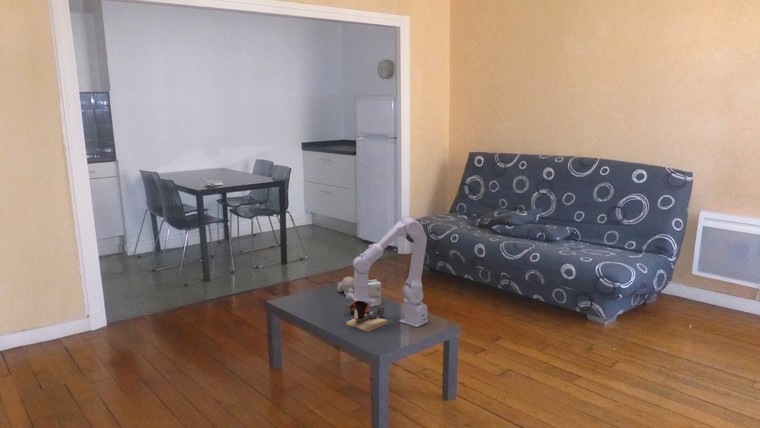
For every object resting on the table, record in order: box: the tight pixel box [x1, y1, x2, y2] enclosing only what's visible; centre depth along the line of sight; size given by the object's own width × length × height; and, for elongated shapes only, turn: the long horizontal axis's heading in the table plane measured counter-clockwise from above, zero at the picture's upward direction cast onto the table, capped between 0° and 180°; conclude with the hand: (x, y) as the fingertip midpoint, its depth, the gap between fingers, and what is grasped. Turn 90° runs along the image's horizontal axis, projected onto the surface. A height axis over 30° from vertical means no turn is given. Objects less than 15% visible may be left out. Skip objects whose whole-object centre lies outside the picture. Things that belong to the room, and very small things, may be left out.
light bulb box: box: [368, 279, 382, 308], centre depth 258 cm, size 11×7×11 cm, turn 111°
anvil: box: [343, 301, 355, 317], centre depth 248 cm, size 3×7×4 cm, turn 163°
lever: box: [354, 305, 385, 323], centre depth 238 cm, size 16×4×5 cm, turn 135°
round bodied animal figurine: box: [337, 276, 354, 296], centre depth 274 cm, size 7×12×8 cm, turn 46°
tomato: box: [352, 300, 371, 314], centre depth 247 cm, size 7×7×8 cm
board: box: [346, 313, 388, 332], centre depth 236 cm, size 12×12×1 cm
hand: (361, 318), depth 232 cm, fingers closed
